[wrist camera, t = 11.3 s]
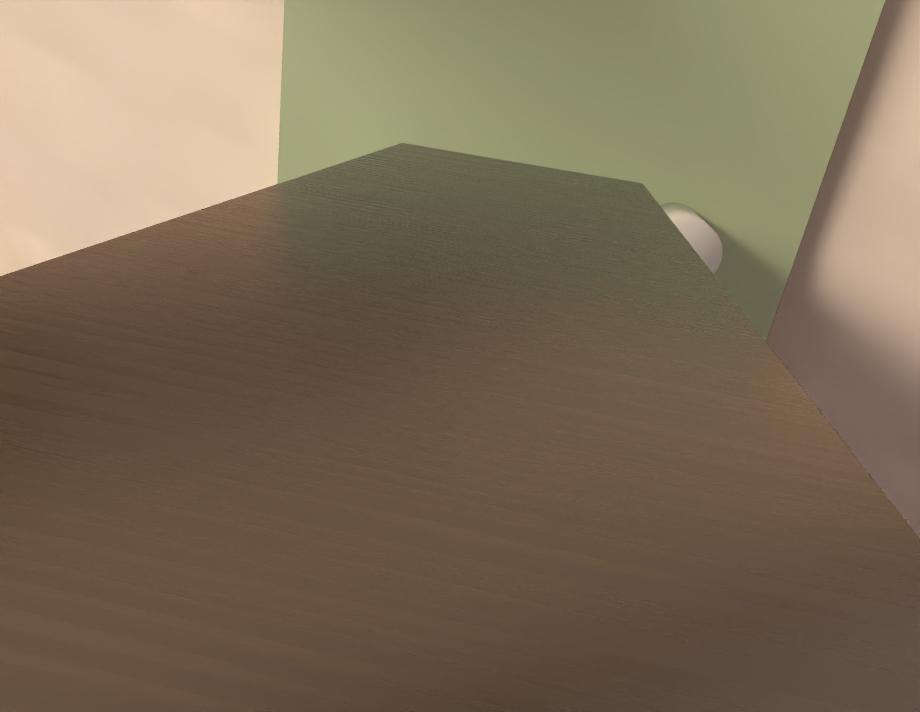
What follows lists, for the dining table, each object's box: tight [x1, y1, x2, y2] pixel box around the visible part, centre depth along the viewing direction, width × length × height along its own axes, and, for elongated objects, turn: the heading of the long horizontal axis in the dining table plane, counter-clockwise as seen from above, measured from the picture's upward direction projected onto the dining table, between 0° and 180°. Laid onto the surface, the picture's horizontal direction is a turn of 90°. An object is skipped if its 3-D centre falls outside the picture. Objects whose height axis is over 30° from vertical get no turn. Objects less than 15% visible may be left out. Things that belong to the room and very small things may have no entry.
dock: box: [278, 0, 885, 341], centre depth 17 cm, size 13×20×4 cm, turn 172°
